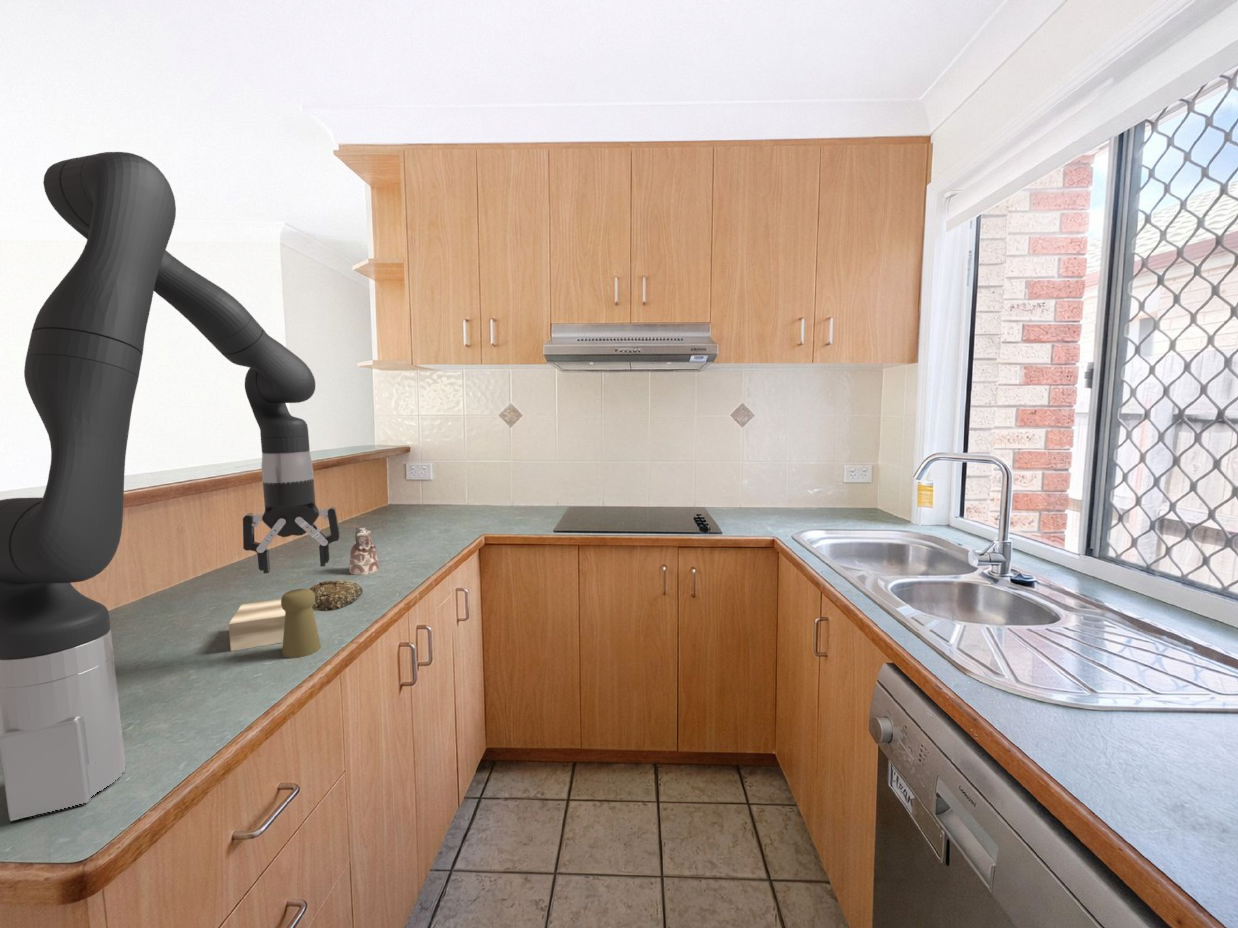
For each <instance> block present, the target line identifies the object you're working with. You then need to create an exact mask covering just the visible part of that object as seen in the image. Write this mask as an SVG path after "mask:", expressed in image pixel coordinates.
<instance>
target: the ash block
mask: <svg viewBox="0 0 1238 928" xmlns="http://www.w3.org/2000/svg"><path fill="white" fill-rule="evenodd" d="M281 599H282V598H280V599H279V598H278V599H273V600H264V601H257V602H251V603H244V604H243V603H242V604H241V605H240V606H239V608H238V610H237V611H236V612H235V614H234V615H233V617H232V618H231V619H230V621H229V623H228V634H229V643H230V652H234V651H240V650H246V649H252V648H258V647H263V646H269V645H275V644H280V643H282V644H283V637H284V624H285V611H284V610H283V609H282V606H281Z"/></svg>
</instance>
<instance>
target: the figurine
mask: <svg viewBox="0 0 1238 928" xmlns="http://www.w3.org/2000/svg"><path fill="white" fill-rule="evenodd" d="M355 529H356V530H355V538H354V539H355V543H354V544H353V546H352V547H351V550H350V552H349V556H350V557H349V566H348V567H349V568H348V570H349V574H350V573H351V574H350V575H352V574H355V575H356V576H358V575H359V576H360V575H361V576H364V575H363V574H365V575H369V574H368V573H370V574H373V573H375V571H376V572H378V571H379V570H380V566H379V560H378V553H377V546H376V545H375V544H374V543H373V542H372V541H373V540H372V531H371V530H370V529H368V527H367V528H366V527H361V526H359V525H358V526H356V527H355Z"/></svg>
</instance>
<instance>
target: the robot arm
mask: <svg viewBox="0 0 1238 928" xmlns="http://www.w3.org/2000/svg"><path fill="white" fill-rule="evenodd" d="M43 189H44V192H45V195H46V197H47V199H48V202H49V203H50V205H51V206H52V208H53V209H54V210H55V211H56V213H57V214H58V215H59V216H60V217H61V219H63V220H64V221H65V222H66V223H67V224H68V225H70V227H72V228H73V229H74V230H75V231H76V232H77V233H79V234H80V235H81V236H83V238H85V239H86V243H85V245H84V247H83V250H82V253H81V254H80V255H79V258H78V259H77V261H76V262H75V263H74V264H73V266H72V267H71V268H70V269H69V270H68V272H67V273H66V274H65V275H64V277H63V278H62V280H61V281H59V283H58V284H57V286H56V287H55V288H54V289H53V291H52V292H51V293H50V294H49V296H48V298H46V300H45V301H44V303H43V305H42V306H41V308H40V309H39V311H38V313H37V315H36V317H35V319H34V324H33V326H32V328H31V329H32V330H31V334H30V338H29V340H28V341H29V342H28V347H27V351H26V356H25V362H24V370H23V371H24V372H23V373H24V374H23V378H24V383H25V386H26V389H27V391H28V394H29V396H30V399H31V401H32V403H33V405H34V407H35V409H36V412H37V413H38V416H39V417H40V419H41V421H42V424H43V426H44V428H45V430H46V433H47V435H48V440H49V443H50V452H51V453H50V467H49V470H48V477H47V483H46V486H45V490H44V492H43V493H44V494H43V496H42V497H12V498H5V499H0V762H1V768H2V770H1V771H2V777H3V783H4V790H5V797H6V798H5V799H6V808H7V813H8V820H9V819H13V818H18V817H19V818H21V817H24V816H30V815H34V814H35V815H36V814H41V813H45V812H50V813H53V812H52V811H54V812H56V811H55V810H58V811H61V810H60V809H62V810H65V809H64V808H66V809H69V808H68V807H70V808H73V807H72V806H74V807H76V806H75V805H78V806H80V805H79V804H82V805H84V804H83V803H86V804H87V801H89V799H90V798H91V797H92V796H93V795H94V796H96V795H97V794H96V793H97V792H99V791H101V790H102V791H104V790H105V789H104V788H106V787H107V786H109V785H110V784H111V785H113V784H114V783H115V782H116V781H118V780H119V779H120V778H121V777H122V776H123V774H124V773H123V772H125V771H126V768H125V767H126V756H125V747H124V740H123V738H124V737H123V732H122V731H123V730H122V723H121V722H122V721H121V713H120V704H119V695H118V686H117V678H116V667H115V659H114V648H113V639H112V631H111V620H110V613H109V610H108V608H107V607H106V606H105V605H104V604H103V603H100V602H99V601H97V600H95V599H92V598H89V597H87V596H85V595H84V594H82V593H81V592H79V591H78V590H77V589H76V588H75V587H74V586H73V585H72V584H73V583H79V582H85V581H87V580H91V579H92V578H95V577H96V576H97V575H99V574H101V573H102V572H103V571H104V570H105V569H106V568H107V567H108V566H109V565H110V563H111V562H112V560H113V559H114V557H115V555H116V552H117V550H118V548H119V545H120V541H121V538H122V537H121V536H122V530H123V521H124V519H123V518H124V498H125V497H124V496H125V494H124V493H125V490H124V489H125V469H126V455H127V449H128V448H127V446H128V441H129V440H128V439H129V433H130V425H131V417H132V410H133V405H134V400H135V396H136V391H137V386H138V383H139V376H140V371H141V366H142V360H143V354H144V345H145V337H146V330H147V327H148V321H149V317H150V311H151V307H152V302H153V296H154V292H155V293H156V294H157V295H158V296H159V297H161V298H162V299H163V300H164V301H166V302H167V303H168V304H169V305H171V306H172V307H173V309H175V310H176V311H178V313H180V315H182V316H183V317H184V318H185V319H186V320H187V321H188V322H190V323H191V325H193V326H194V327H195V329H197V331H199V332H200V333H201V334H202V335H203V336H204V338H205V339H206V340H208V342H209V343H211V345H212V346H213V347H214V348H215V349H216V350H217V351H218V352H219V353H220V354H221V355H222V356H223V357H225V358H226V359H227V360H228V361H229V362H230V363H232V364H234V365H237V366H240V367H246V368H249V369H248V370H247V372H246V373H245V378H244V391H245V395H246V398H247V400H248V403H249V406H250V408H251V410H252V413H253V415H254V418H255V421H256V423H257V425H258V427H259V430H260V446H261V477H262V490H263V499H264V501H263V502H264V513H263V514H254V513H252V512H248V513H247V514H245V515H244V517H242V540H243V542H242V546H243V547H242V549H244V551H252V552H255V553H256V554H257V564H258V569H259V571H260V572H261V571H263V575H265V574H270V572H271V563H270V562H271V561H270V552H269V551H270V550H269V549H268V547H269V545H271V542H273V540H274V539H275V537H277V536H279V537H281V538H288V537H292V536H303V535H305V534H308V535H309V537H311V538H313V539H314V540H315V541H316V542H317V543H318V544H319V546H318V548H319V549H318V550H319V551H318V553H319V564H320V567H321V568H322V567H326V564H328V563H329V561H330V558H331V557H330V547H329V545H330V544H331V543H333V542H337V541H339V539H340V529H339V520H338V515H337V509H336V506H330V507H329V508H322V509H319V508H318V507H317V505H316V494H315V492H316V491H315V480H314V478H315V477H314V475H315V472H314V468H313V461H312V460H313V459H312V458H311V453H310V451H311V450H310V438H309V428H308V424H307V422H306V420H305V419H303V418H299V417H296V416H293V415H291V413H290V411H289V409H288V407H287V404H299V403H302V402H306V401H308V400H309V399H311V398H312V397H313V395H314V394H315V391H316V379H315V376H314V374H313V372H312V370H311V368H310V367H309V366H308V365H307V363H305V361H303V359H301V358H300V357H298V356H297V355H296V354H295V353H294V352H292V351H291V350H290V349H288V348H287V347H285V346H284V345H283V344H282V343H280V342H279V341H277V340H276V339H275V338H273V337H272V336H270V335H269V334H268V333H267V332H266V331H265V329H264V328H263V327H262V325H260V324H259V322H258V321H257V320H256V319H255V318H254V317H253V315H252V314H251V313H250V312H249V311H248V309H246V307H245V306H244V305H243V304H242V303H240V301H238V300H237V299H236V298H235V297H234V296H233V295H231V294H230V293H229V292H227V291H226V290H225V289H223V288H222V287H221V286H219V285H217V284H215V283H214V282H213V281H211V280H209V279H207V278H206V277H205V276H202V275H201V274H199V273H198V272H196V271H195V270H193V269H192V268H190V267H189V266H187V265H186V264H184V263H183V262H181V261H180V260H179V259H177V258H176V257H175V256H174V255H172V254H171V253H170V252H169V251H168V250H166V249H167V247H168V243H169V242H170V240H171V239H170V238H171V235H172V232H173V229H174V225H175V221H176V213H177V210H176V209H177V208H176V207H177V206H176V200H175V196H174V192H173V189H172V186H171V184H170V183H169V181H168V179H167V178H166V176H165V174H164V173H163V172H162V171H161V170H160V169H159V167H157V165H156V164H154V163H153V162H151V161H150V160H148V159H146V158H145V157H144V156H140V155H138V154H135V153H131V152H125V151H104V152H99V153H94V154H90V155H85V156H80V157H73V158H69V159H65V160H61V161H59V162H56V163H54V164H52V165H50V166H49V167H48V168H47V169H46V171H45V174H44V176H43ZM319 517H322V518H323V519H324V521H326V522H328V524H329V530H330V533H329V534H327V535H326V534H325V533H324V532H323V531H322V530H321V529H320V528H319V526H317V525H316V524H315V522H316V521H317V520H318V518H319ZM261 521H262V522H263V523H264V524H265V525H266V526H267V527H268V528H269V532H268V533H267V534H266V536H265V537H264V538H263V539H262V541H261V542H256V541H255V528H257V527H258V526H259V524H260V522H261ZM122 773H123V774H122ZM119 777H120V778H119ZM118 778H119V779H118ZM117 779H118V780H117ZM115 780H116V781H115ZM113 782H114V783H113ZM112 783H113V784H112ZM111 785H110V786H111ZM110 786H109V787H110ZM107 788H108V787H107ZM107 788H106V789H107ZM103 789H104V790H103ZM102 791H101V792H102ZM99 793H100V792H99ZM95 794H96V795H95ZM94 796H93V797H94ZM93 797H92V798H93ZM92 798H91V799H92ZM91 799H90V800H91ZM89 802H90V801H89Z"/></svg>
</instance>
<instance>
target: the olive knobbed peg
mask: <svg viewBox="0 0 1238 928" xmlns="http://www.w3.org/2000/svg"><path fill="white" fill-rule="evenodd" d="M280 599H281V606H282V609H283V610H284V611H285V624H284V637H283V642H282V649H281V650H282V651H281V653H282V654H281V655H282V657H284V658H287V659H297V658H302V657H306V656H310V655H312V654H314V653H317V652H318V651H319V650H321V649H322V645H321V641H320V636H319V632H318V631H319V630H318V628H317V623H316V618H315V613H314V611H313V609H312V606H313V605H314V603H315V595H314V592H313V591H312V590H310V588H298V589H293V590H289V591H286V592H285V593H284V594H283V595H282V596H281V598H280Z"/></svg>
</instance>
